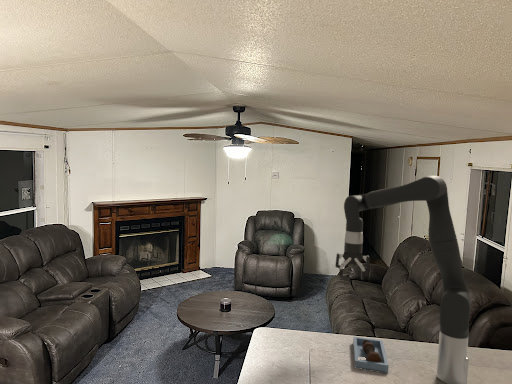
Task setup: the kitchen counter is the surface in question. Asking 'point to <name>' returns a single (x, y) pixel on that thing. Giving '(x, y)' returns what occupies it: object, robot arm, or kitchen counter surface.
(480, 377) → the kitchen counter surface
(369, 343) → the bolt
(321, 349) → the kitchen counter surface
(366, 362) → the parts tray
